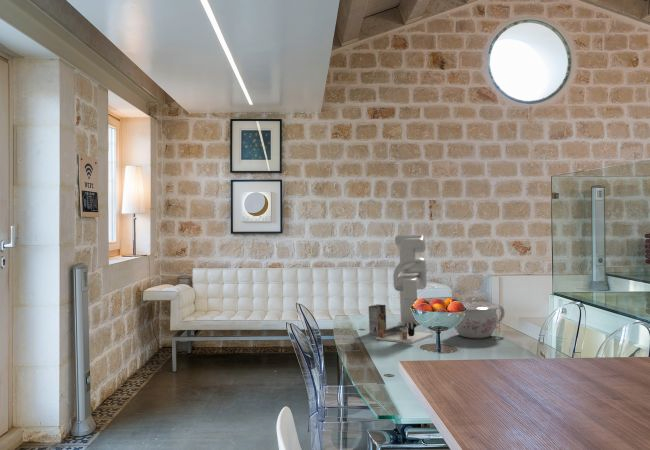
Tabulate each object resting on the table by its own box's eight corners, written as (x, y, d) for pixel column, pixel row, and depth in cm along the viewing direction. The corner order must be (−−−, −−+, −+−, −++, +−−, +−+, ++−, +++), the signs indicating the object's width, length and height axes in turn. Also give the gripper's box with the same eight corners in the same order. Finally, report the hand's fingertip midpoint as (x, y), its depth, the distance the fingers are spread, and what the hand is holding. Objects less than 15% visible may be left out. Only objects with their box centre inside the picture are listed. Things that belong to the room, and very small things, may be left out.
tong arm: (402, 332, 310) (402, 325, 310) (407, 332, 310) (406, 325, 310) (402, 338, 291) (402, 331, 291) (407, 339, 291) (407, 331, 291)
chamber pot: (443, 339, 294) (442, 301, 294) (456, 330, 318) (455, 294, 318) (497, 343, 281) (496, 303, 281) (506, 333, 305) (505, 296, 305)
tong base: (399, 330, 315) (399, 321, 315) (407, 331, 312) (407, 322, 312) (379, 337, 298) (378, 328, 298) (387, 338, 294) (387, 328, 294)
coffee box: (377, 331, 322) (376, 304, 323) (386, 332, 319) (385, 304, 319) (369, 333, 315) (368, 306, 315) (378, 334, 311) (377, 306, 311)
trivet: (398, 332, 318) (398, 329, 318) (432, 335, 304) (432, 333, 304) (376, 339, 299) (376, 337, 299) (412, 343, 285) (411, 341, 285)
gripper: (426, 301, 291) (427, 336, 290) (401, 300, 300) (402, 333, 299) (419, 303, 285) (420, 338, 284) (394, 301, 294) (395, 335, 293)
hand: (411, 335), depth 292 cm, fingers closed
